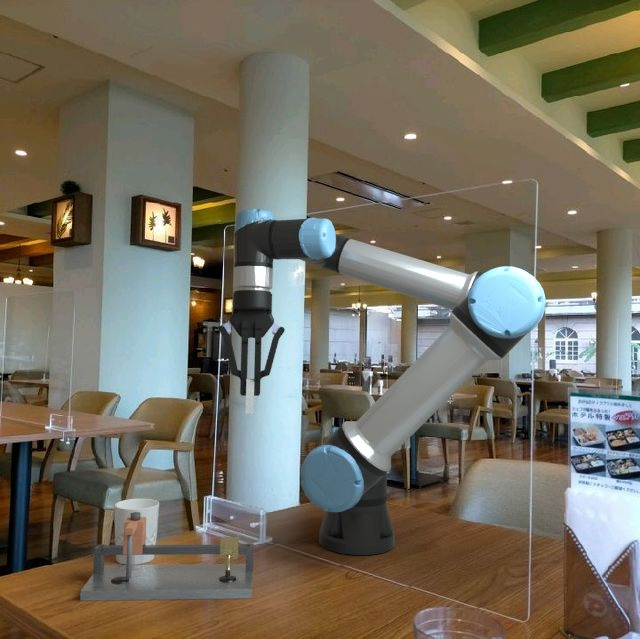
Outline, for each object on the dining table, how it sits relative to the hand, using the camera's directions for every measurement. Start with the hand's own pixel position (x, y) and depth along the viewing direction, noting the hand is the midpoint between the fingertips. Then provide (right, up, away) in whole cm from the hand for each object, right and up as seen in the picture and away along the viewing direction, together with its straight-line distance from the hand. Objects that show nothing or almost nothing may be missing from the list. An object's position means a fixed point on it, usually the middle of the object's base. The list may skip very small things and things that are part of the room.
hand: (249, 412), depth 120 cm
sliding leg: (-17, -23, -18) cm, 34 cm away
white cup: (-20, -26, -6) cm, 33 cm away
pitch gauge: (-11, -26, -18) cm, 33 cm away
